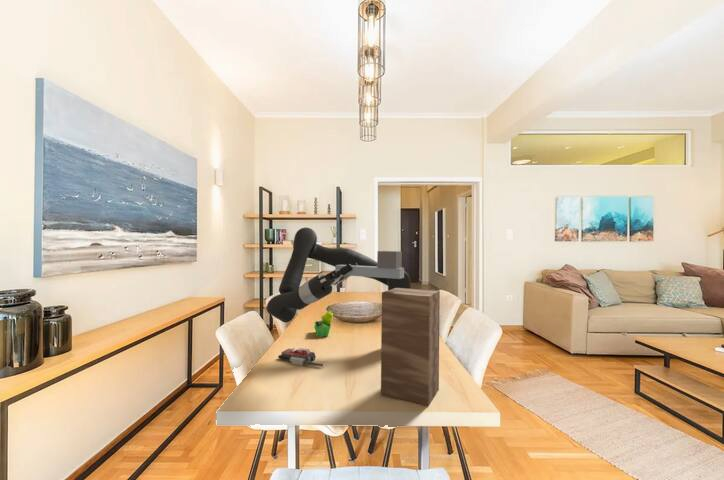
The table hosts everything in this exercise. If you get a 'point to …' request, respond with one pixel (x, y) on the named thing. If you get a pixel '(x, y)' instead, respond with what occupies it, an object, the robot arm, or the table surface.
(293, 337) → the table surface
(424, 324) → the walnut stand
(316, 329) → the green potted plant
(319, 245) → the robot arm
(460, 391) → the table surface
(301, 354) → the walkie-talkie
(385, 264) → the gray l-shaped block
